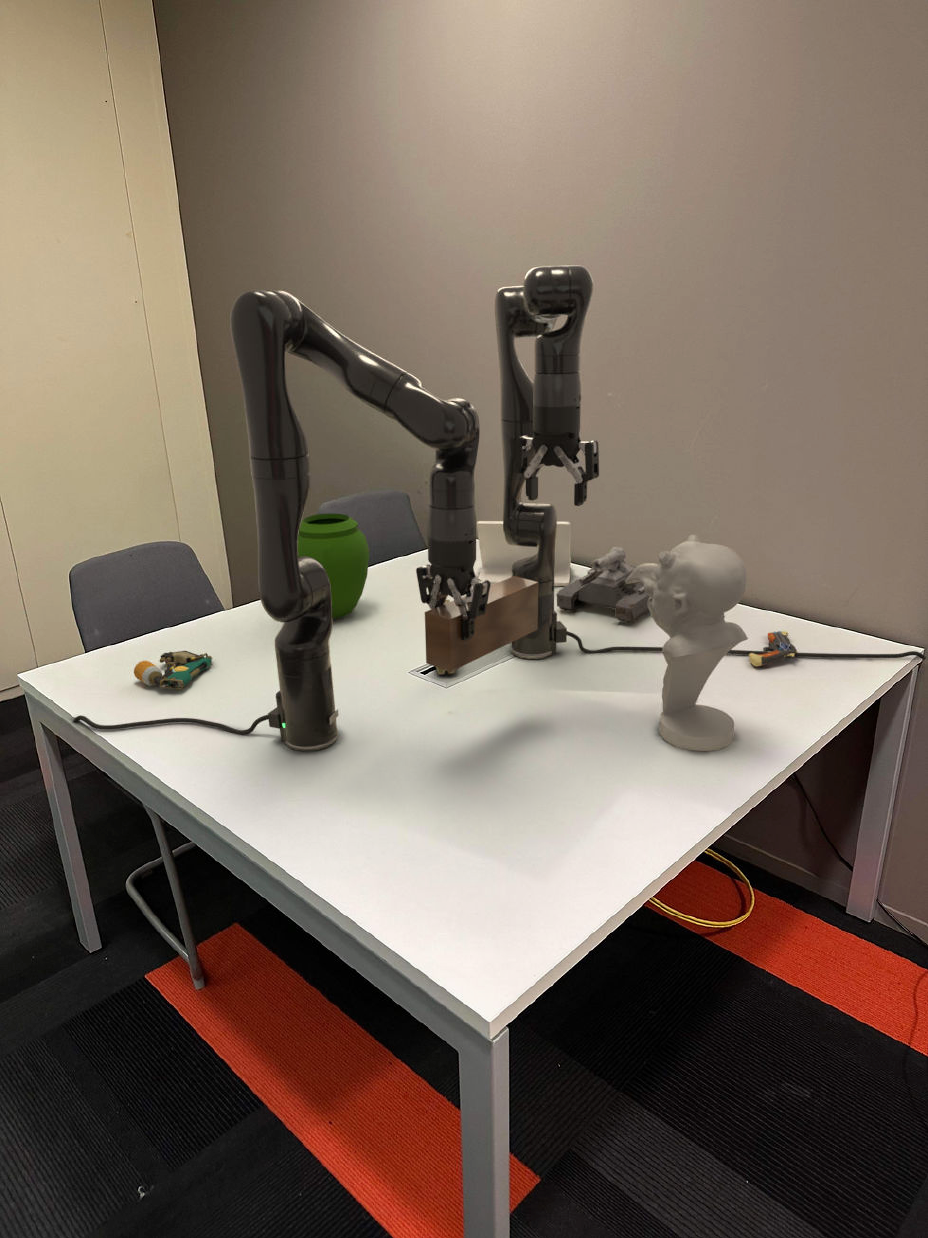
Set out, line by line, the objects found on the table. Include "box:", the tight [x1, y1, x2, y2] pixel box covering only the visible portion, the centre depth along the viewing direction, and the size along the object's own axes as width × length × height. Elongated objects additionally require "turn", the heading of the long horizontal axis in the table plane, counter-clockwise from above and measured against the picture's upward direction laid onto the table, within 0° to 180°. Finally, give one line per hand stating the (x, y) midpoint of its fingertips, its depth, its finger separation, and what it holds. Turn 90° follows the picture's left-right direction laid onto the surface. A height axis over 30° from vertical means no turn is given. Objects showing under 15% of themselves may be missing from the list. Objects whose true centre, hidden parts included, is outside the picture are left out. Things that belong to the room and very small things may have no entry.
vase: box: [298, 512, 370, 620], centre depth 209 cm, size 20×20×24 cm
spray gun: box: [133, 650, 213, 690], centre depth 180 cm, size 4×17×15 cm
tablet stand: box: [476, 520, 572, 587], centre depth 236 cm, size 18×25×17 cm
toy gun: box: [748, 630, 799, 667], centre depth 183 cm, size 3×19×10 cm
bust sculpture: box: [625, 534, 749, 752], centre depth 149 cm, size 16×24×35 cm
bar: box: [424, 576, 538, 672], centre depth 143 cm, size 23×5×9 cm, turn 139°
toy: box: [556, 546, 650, 624], centre depth 212 cm, size 25×20×15 cm
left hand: (453, 634), depth 138 cm, fingers closed on bar, 5 cm apart
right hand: (555, 502), depth 141 cm, fingers open, 8 cm apart
